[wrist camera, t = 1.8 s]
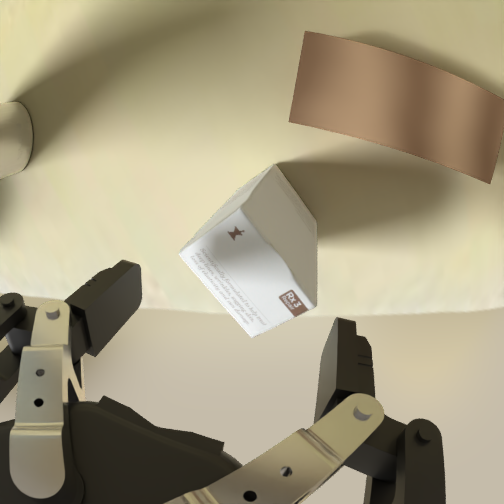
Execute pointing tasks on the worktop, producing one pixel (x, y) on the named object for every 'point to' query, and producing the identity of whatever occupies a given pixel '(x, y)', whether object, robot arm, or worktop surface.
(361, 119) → the walnut ledge
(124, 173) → the worktop surface
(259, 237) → the skincare box
